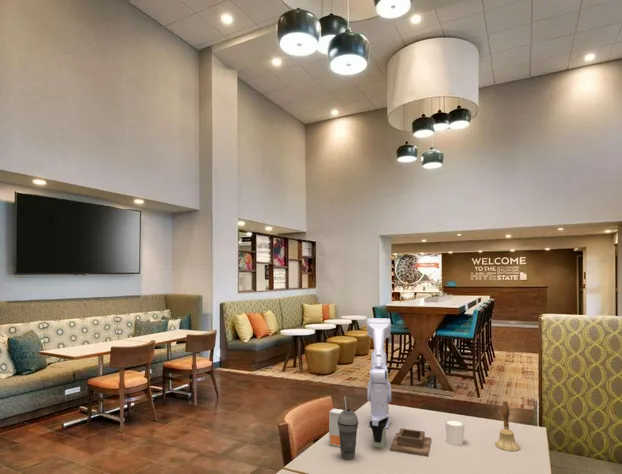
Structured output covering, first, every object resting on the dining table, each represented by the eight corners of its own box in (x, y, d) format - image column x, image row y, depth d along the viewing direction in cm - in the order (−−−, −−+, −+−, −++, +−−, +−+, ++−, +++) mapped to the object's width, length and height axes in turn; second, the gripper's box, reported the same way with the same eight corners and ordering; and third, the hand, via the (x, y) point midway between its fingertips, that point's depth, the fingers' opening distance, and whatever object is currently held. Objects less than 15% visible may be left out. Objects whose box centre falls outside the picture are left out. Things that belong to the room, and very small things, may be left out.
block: (374, 442, 156) (374, 425, 156) (385, 444, 154) (385, 427, 155) (372, 446, 152) (372, 429, 152) (383, 448, 150) (383, 430, 151)
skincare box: (328, 445, 153) (328, 411, 154) (333, 441, 157) (333, 408, 158) (343, 448, 150) (343, 413, 151) (348, 444, 154) (348, 410, 155)
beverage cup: (352, 463, 138) (352, 401, 140) (333, 458, 142) (333, 397, 143) (362, 455, 144) (362, 395, 146) (343, 450, 148) (343, 392, 150)
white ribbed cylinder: (442, 442, 156) (441, 423, 157) (450, 437, 161) (449, 418, 162) (460, 447, 151) (459, 427, 152) (467, 442, 156) (467, 422, 157)
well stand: (396, 435, 162) (396, 424, 163) (431, 440, 158) (431, 429, 158) (389, 450, 148) (389, 438, 149) (427, 456, 144) (427, 444, 144)
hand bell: (495, 449, 150) (494, 403, 152) (494, 440, 158) (492, 397, 159) (521, 452, 147) (519, 406, 149) (518, 444, 155) (517, 399, 157)
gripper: (386, 408, 146) (386, 448, 145) (393, 397, 160) (393, 434, 159) (366, 406, 149) (366, 445, 148) (374, 395, 162) (374, 431, 161)
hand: (379, 439), depth 153 cm, fingers open, 4 cm apart
